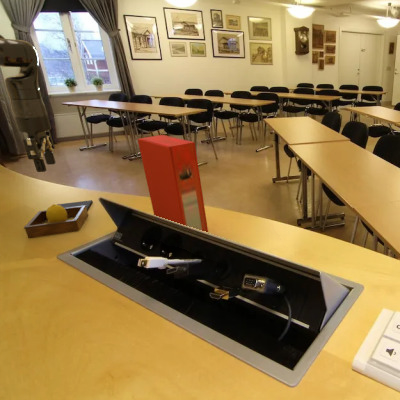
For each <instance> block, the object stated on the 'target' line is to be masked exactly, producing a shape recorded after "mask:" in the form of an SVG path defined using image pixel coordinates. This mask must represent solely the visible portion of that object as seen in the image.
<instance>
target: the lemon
mask: <svg viewBox="0 0 400 400" xmlns="http://www.w3.org/2000/svg"><path fill="white" fill-rule="evenodd" d="M46 210H47V211H46V216H47V219H48V221H47V222H48V223H53V222H60V221H68V218H67V212H66V210H65V209H64V208H63V207H62V206H60V205H56V204H55V203H53V204H52V205H50V206H49V207H48V208H47V209H46Z"/></svg>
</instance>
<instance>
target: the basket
mask: <svg viewBox="0 0 400 400" xmlns="http://www.w3.org/2000/svg"><path fill="white" fill-rule="evenodd" d="M64 209H65V210H66V212H67V220H66V221H60V222H53V223H50V222H49V221H48V219H47V216H46V211H47V209H45V210H39V211H38V212H36V214H35V215H34V216H33V217H32V218H31V219H30V220H29V222H27V223H26V224H25V226H24V227H23V229H24V230H25V233H26V235H27V238H28V239H31V238H37V237H38V238H39V237H45V236H51V235H57V234H64V233H72V232H79V231H80V230H81V228H82V226H83V225H84V223H85V221H86V220H87V218H88V216H89V212H88V211H87V209H86V205H84V206H76V207H68V208H64ZM70 217H73V219H71V218H70ZM86 217H87V218H86ZM45 222H47V223H45ZM78 230H79V231H78ZM71 231H72V232H71Z"/></svg>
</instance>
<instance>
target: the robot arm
mask: <svg viewBox="0 0 400 400" xmlns="http://www.w3.org/2000/svg"><path fill="white" fill-rule="evenodd" d="M0 67H3V68H19V71H18V74H16V75H12V76H8V77H5V79H4V85H5V89H6V91H7V95H8V98H9V101H10V107H11V111H12V115H13V118H14V120H15V124H16V127H17V130H18V132H19V133H23V134H24V133H26V134H27V138H23V139H22V142H23V145H24V149H25V153H26V156H27V159H28V160H32V161H33V164H34V167H35V170H36V172H37V173H45V172H46V171H47V167H46V165H55V164H56V159H55V156H54V151H55V148H56V147H55V143H54V140H53V137H52V134H51V130H52V126H51V122H50V117H49V115H48V111H47V108H46V104H45V103H44V100H43V98H42V94H41V91H40V87H39V55H38V52H37V50H36V49H35V46H33V45H32V44H31V43H30V42H29V41H26V40H23V39H14V38H13V39H11V38H5V37H4V36H3V35H2V34H0Z"/></svg>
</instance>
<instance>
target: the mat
mask: <svg viewBox="0 0 400 400" xmlns="http://www.w3.org/2000/svg"><path fill="white" fill-rule="evenodd" d="M92 204H93V200H92V199H90V200H83V201H82V200H81V201H73V202H65V203H58V204H55V205H60V206H62V207H63V208H68V207H76V206H84V205H86V209H87V212H88V211H89V209H90V208H91V206H92Z"/></svg>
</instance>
